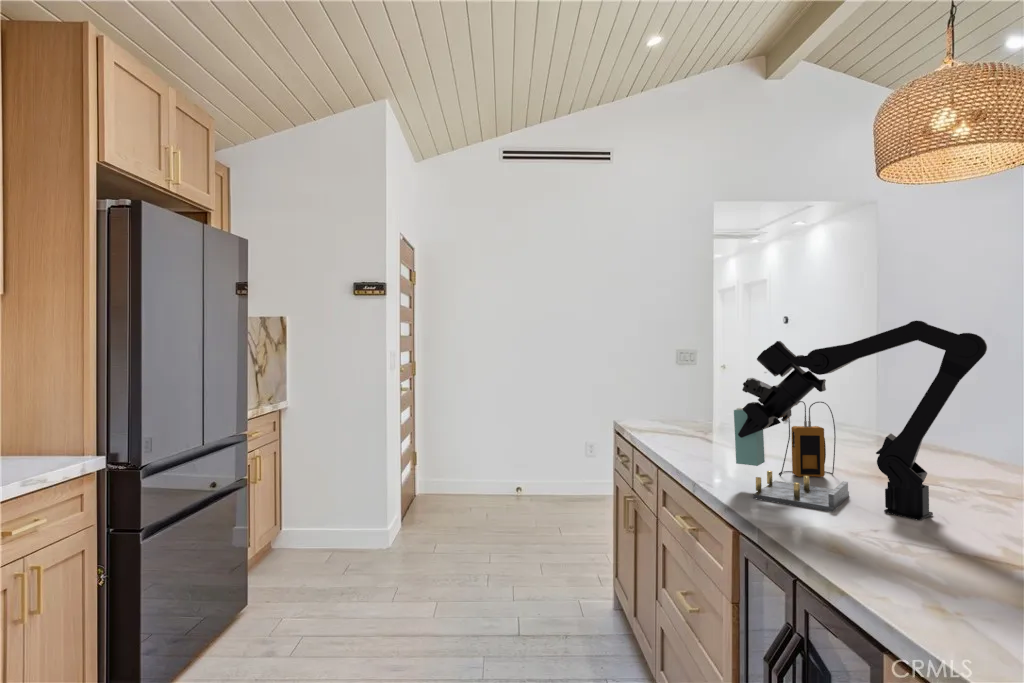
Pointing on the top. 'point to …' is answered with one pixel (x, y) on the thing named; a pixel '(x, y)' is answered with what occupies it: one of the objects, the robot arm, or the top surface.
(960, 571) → the top surface
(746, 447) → the plate
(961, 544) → the top surface
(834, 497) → the plate
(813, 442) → the multimeter
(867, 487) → the top surface
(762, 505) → the top surface
